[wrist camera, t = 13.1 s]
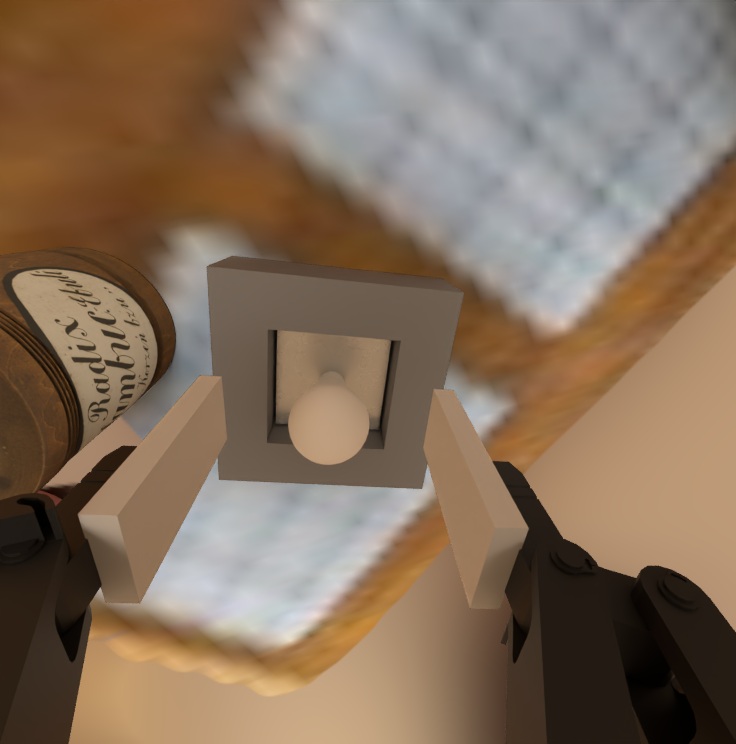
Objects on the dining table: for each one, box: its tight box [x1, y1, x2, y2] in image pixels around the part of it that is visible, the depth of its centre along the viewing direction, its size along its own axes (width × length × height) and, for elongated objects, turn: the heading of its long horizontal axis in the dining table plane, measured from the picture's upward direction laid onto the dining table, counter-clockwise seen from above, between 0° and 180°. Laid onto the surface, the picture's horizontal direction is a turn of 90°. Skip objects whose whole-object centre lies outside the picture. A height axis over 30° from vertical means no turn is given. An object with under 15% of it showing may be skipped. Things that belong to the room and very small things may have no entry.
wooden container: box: [0, 247, 175, 500], centre depth 26 cm, size 15×15×22 cm
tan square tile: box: [276, 330, 391, 430], centre depth 37 cm, size 10×10×3 cm
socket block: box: [207, 256, 464, 489], centre depth 36 cm, size 20×20×7 cm
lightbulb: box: [288, 371, 370, 465], centre depth 30 cm, size 6×6×11 cm
